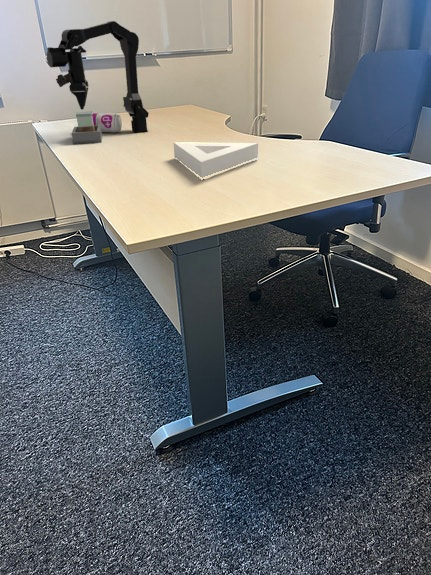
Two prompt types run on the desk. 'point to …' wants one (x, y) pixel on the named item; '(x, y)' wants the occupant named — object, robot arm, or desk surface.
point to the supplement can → (108, 122)
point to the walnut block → (86, 129)
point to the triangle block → (213, 155)
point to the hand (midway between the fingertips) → (82, 107)
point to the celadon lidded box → (84, 119)
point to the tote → (87, 136)
